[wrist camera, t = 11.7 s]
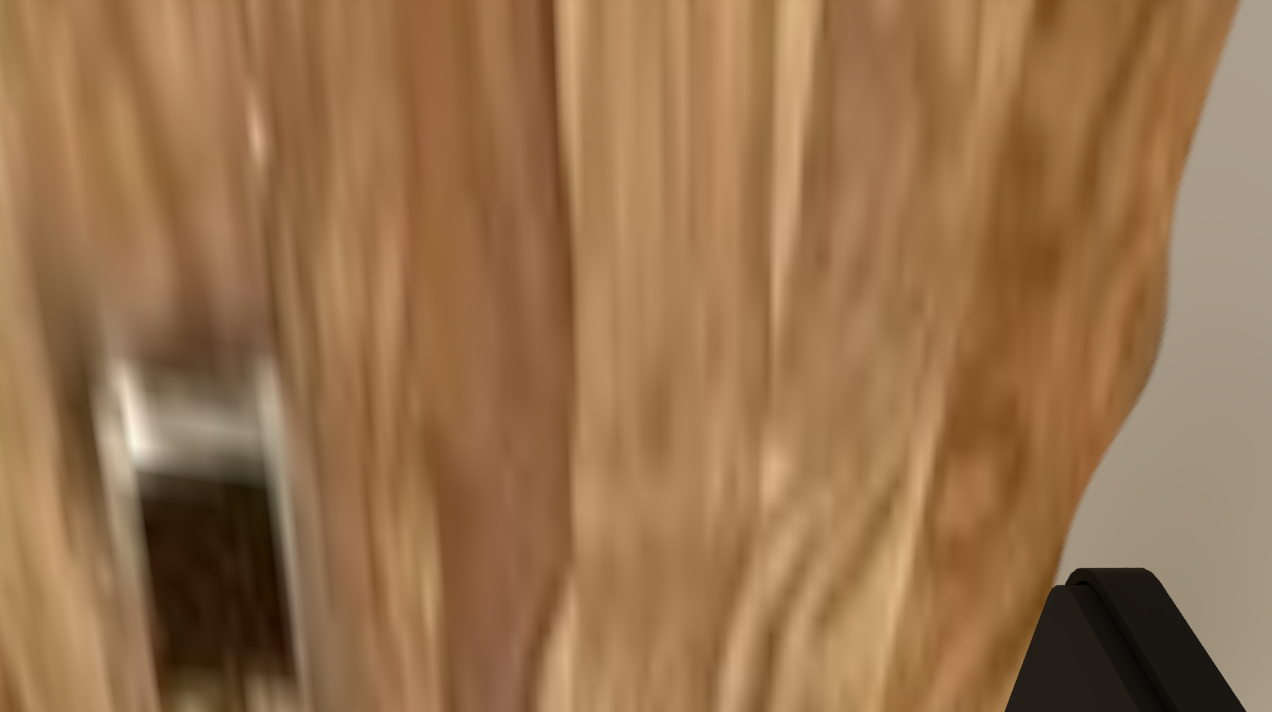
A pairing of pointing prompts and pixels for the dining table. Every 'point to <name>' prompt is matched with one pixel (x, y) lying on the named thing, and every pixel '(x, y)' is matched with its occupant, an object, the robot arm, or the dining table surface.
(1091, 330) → the dining table surface
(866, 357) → the dining table surface
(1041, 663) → the robot arm
